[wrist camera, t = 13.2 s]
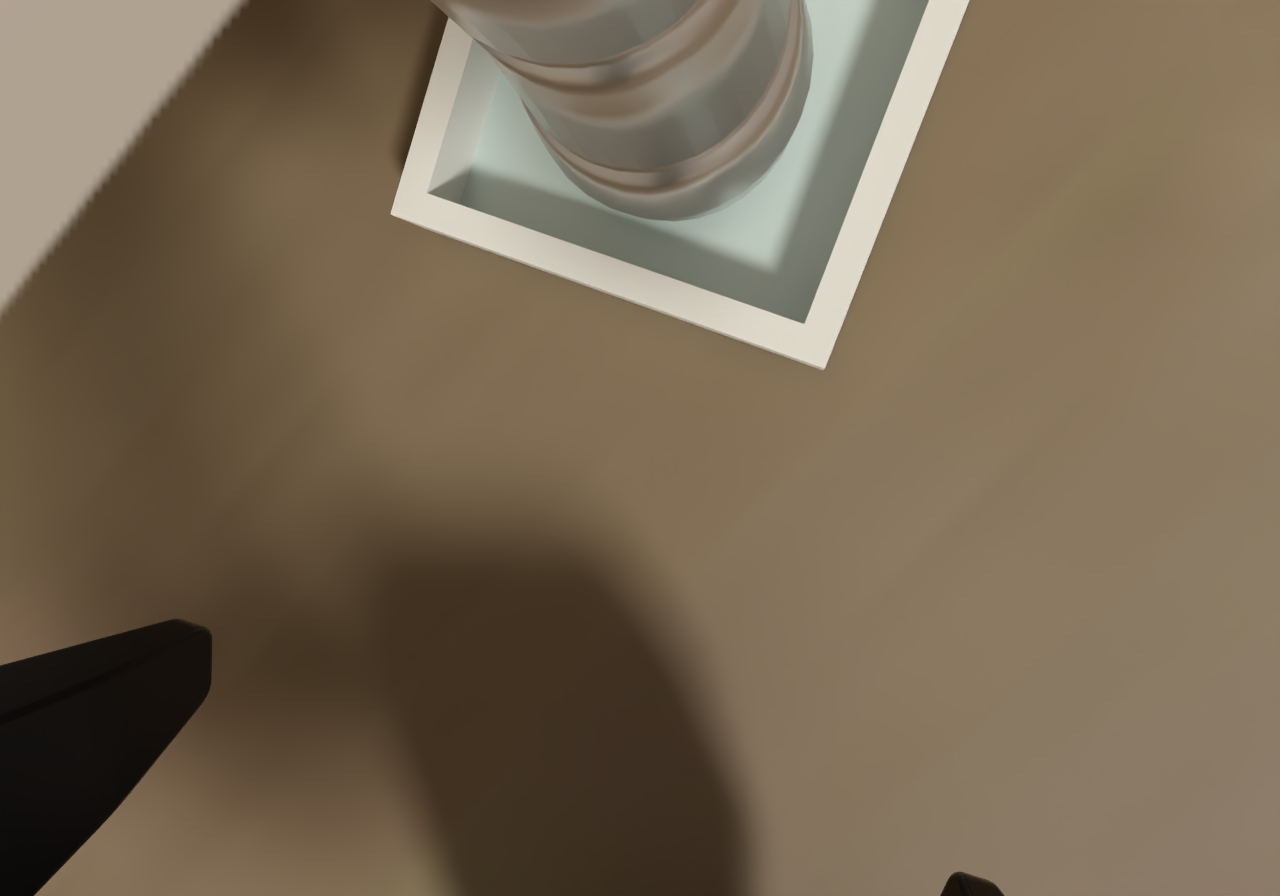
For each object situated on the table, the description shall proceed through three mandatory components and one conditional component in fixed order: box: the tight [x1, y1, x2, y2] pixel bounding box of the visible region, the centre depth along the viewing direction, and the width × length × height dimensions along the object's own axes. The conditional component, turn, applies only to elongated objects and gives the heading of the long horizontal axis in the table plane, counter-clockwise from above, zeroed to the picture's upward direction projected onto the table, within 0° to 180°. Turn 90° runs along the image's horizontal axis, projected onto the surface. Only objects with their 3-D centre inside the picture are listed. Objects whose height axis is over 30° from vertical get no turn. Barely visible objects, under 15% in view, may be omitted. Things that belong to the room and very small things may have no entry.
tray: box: [391, 0, 969, 370], centre depth 19 cm, size 12×11×2 cm
